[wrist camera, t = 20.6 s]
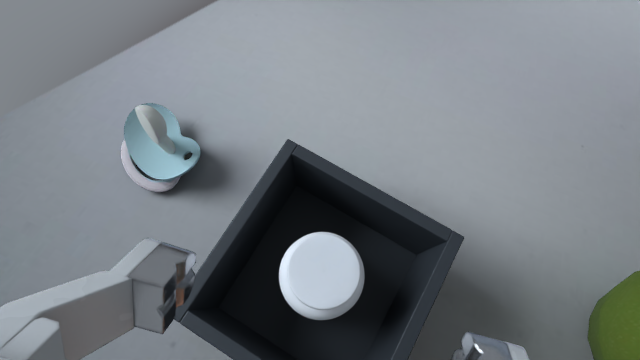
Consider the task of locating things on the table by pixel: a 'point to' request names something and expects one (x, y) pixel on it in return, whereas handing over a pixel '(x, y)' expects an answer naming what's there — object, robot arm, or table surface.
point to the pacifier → (156, 148)
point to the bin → (292, 224)
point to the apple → (617, 322)
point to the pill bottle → (321, 276)
